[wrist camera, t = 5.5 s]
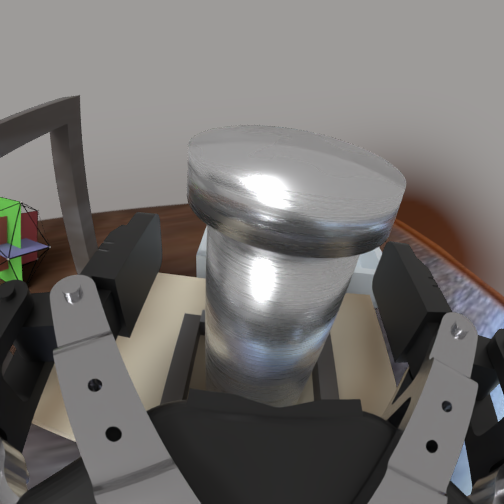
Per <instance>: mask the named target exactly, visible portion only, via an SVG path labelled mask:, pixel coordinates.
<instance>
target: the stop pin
mask: <svg viewBox="0 0 504 504" xmlns="http://www.w3.org/2000/svg"><path fill="white" fill-rule="evenodd" d="M187 175H188V176H187V199H188V203H189V205H190V207H191V209H192V210H193V212H194V213H195V214H196V215H197V216H198V217H199V218H200V219H201V220H202V221H203V222H205V223H206V224H207V245H206V289H205V373H206V391H213V392H221V393H229V394H235V395H238V396H241V397H244V398H247V399H250V400H253V401H256V402H260V403H263V404H266V405H270V406H273V407H287V406H292V405H296V403H297V401H298V399H299V397H300V395H301V393H302V391H303V389H304V387H305V385H306V383H307V381H308V379H309V377H310V375H311V372H312V370H313V368H314V366H315V364H316V362H317V360H318V357H319V355H320V353H321V351H322V349H323V346H324V344H325V342H326V339H327V337H328V335H329V333H330V330H331V328H332V326H333V323H334V321H335V318H336V316H337V314H338V311H339V309H340V306H341V304H342V301H343V299H344V296H345V294H346V291H347V288H348V286H349V283H350V281H351V278H352V275H353V273H354V270H355V267H356V265H357V262H358V259H359V256H360V254H364V253H367V252H369V251H372V250H374V249H376V248H378V247H379V246H381V245H382V244H383V243H384V242H385V241H386V240H387V238H388V236H389V234H390V231H391V229H392V226H393V223H394V220H395V217H396V214H397V212H398V209H399V206H400V202H401V200H402V197H403V194H404V190H405V187H406V180H405V178H404V176H403V175H402V173H401V172H400V171H399V170H398V169H397V168H396V167H395V166H393V165H392V164H391V163H389V162H388V161H386V160H385V159H383V158H381V157H380V156H378V155H376V154H374V153H372V152H370V151H368V150H366V149H364V148H361V147H359V146H356V145H354V144H351V143H348V142H345V141H342V140H339V139H336V138H333V137H329V136H325V135H322V134H318V133H313V132H308V131H304V130H298V129H292V128H284V127H275V126H260V125H259V126H258V125H241V126H227V127H220V128H214V129H210V130H207V131H204V132H201V133H199V134H197V135H195V136H194V137H193V138H191V140H190V141H189V145H188V172H187Z"/></svg>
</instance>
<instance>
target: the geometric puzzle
mask: <svg viewBox="0 0 504 504" xmlns="http://www.w3.org/2000/svg"><path fill="white" fill-rule="evenodd" d="M21 204H22V201H21V202H19V201H15V200H11V199H7V198H3V197H0V279H2V280H4V281H5V282H7V281H10V280H22V266H24V265H26V264H29V263H31V262H33V261H36V262H37V260H38V259H39V258H40V257H41V256H42V255H43V254H44V253H45V252H46V251H47V250H49V248H51V246H50V245H49V244H48V243H49V242H48V243H47V244H48V245H49V246H46V245H43V244H41V243H38V242H37V229H38V228H37V223H38V211H39V210H36V211H33V212H27V213H21ZM22 206H23V207H24V208H25V206H24V205H23V204H22ZM28 208H29V207H28ZM31 208H32V207H31ZM25 210H26V209H25ZM34 210H35V209H34ZM26 211H27V210H26ZM41 223H42V222H41ZM42 226H43V225H42ZM43 229H44V228H43ZM38 230H39V229H38ZM39 232H40V231H39ZM44 232H45V231H44ZM40 234H41V232H40ZM41 235H42V234H41ZM42 237H43V235H42ZM43 238H44V237H43ZM44 239H45V238H44ZM47 240H48V239H47ZM45 241H46V240H45ZM46 242H47V241H46ZM47 248H48V249H47ZM44 249H47V250H46V251H45V252H44V253H43V254H42V255H41V256H40V257H39V258H38V257H37V251H40V250H44ZM46 253H47V252H46ZM45 255H46V254H45ZM45 255H44V256H45ZM43 258H44V257H43ZM41 261H42V260H41ZM27 262H28V263H27ZM36 262H35V264H36ZM24 263H26V264H24ZM40 263H41V262H40ZM22 264H24V265H22ZM34 266H35V265H34ZM38 266H39V265H38ZM33 268H34V267H33ZM37 268H38V267H37ZM32 271H33V269H32ZM32 271H31V273H32ZM35 271H36V270H35ZM34 273H35V272H34ZM30 275H31V274H30ZM32 276H33V275H32ZM29 278H30V276H29ZM29 278H28V280H29ZM31 278H32V277H31ZM30 280H31V279H30ZM22 281H23V280H22ZM27 282H28V281H27ZM28 283H29V282H28ZM26 285H28V284H27V283H26Z"/></svg>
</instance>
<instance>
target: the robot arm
mask: <svg viewBox="0 0 504 504" xmlns="http://www.w3.org/2000/svg"><path fill="white" fill-rule="evenodd" d="M161 262H162V243H161V230H160V218H159V215H158V214H152V213H140V212H137V213H136V214H135V215H134V216H133V218H132V219H131V220H130V222H129V223H128V224H127V225H121V226H119V227H118V228H116V229H115V230H113V231H112V232H110V234H109V235H108V236H107V238H106V239H105V240H104V243H102V244H101V245H100V247H99V248H98V250H97V251H96V252H95V253H94V255H93V256H92V258H91V259H90V260H89V262H88V263H87V264H86V266H85V267H84V269H83V270H82V271H81V273H80V274H79V275H72V276H68V277H66V278H64V279H62V280H60V281H59V282H57V283H56V284H55V285H54V287H53V288H52V290H51V292H46V293H33V294H30V291H29V289H28V287H27V285H26V283H25V282H24V281H22V280H10V281H7V282H5V283H3V284H1V285H0V504H504V417H503V418H502V419H501V420H500V421H499V422H498V420H497V416H496V413H495V409H494V406H493V403H492V400H491V396H490V392H491V391H492V390H493V389H494V388H495V387H496V386H497V385H498V384H499V383H500V386H501V388H502V391H503V394H504V329H499V330H498V331H497V332H496V333H495V335H494V336H493V337H492V339H489V338H486V337H483V336H479V335H478V334H477V330H476V328H475V326H474V325H473V324H472V322H471V321H470V320H469V319H467V318H466V317H464V316H463V315H461V314H458V313H454V312H452V310H451V309H450V307H449V305H448V303H447V301H446V299H445V297H444V295H443V294H442V292H441V290H440V288H438V285H437V283H436V281H435V280H434V279H433V276H432V274H431V272H430V271H429V269H428V268H427V267H426V266H425V265H424V264H423V263H422V262H421V261H420V260H419V259H417V257H416V256H415V254H414V252H413V251H412V249H411V247H410V246H409V245H408V244H405V243H398V242H391V241H389V242H388V243H387V244H386V245H385V247H384V250H383V253H382V255H381V258H380V261H379V263H378V266H377V268H376V271H375V273H374V276H373V280H372V291H373V294H374V297H375V300H376V303H377V306H378V309H379V312H380V315H381V318H382V321H383V324H384V328H385V331H386V334H387V337H388V340H389V344H390V347H391V351H392V354H393V357H394V361H395V363H400V362H408V364H409V367H408V368H407V370H406V371H405V373H404V375H403V377H402V379H401V381H400V383H399V385H398V387H397V389H396V391H395V393H394V395H393V397H392V398H391V400H390V402H389V404H388V406H387V408H386V410H385V411H384V413H383V414H382V416H381V417H379V416H377V415H374V414H372V413H369V412H365V411H362V406H361V399H321V400H316V401H312V402H307V403H302V404H297V405H292V406H287V407H273V406H270V405H266V404H263V403H260V402H256V401H253V400H250V399H247V398H244V397H241V396H238V395H235V394H229V393H221V392H213V391H206V390H199V389H192V388H190V389H189V394H188V399H187V400H178V401H172V402H168V403H164V404H161V405H158V406H156V407H153V408H151V409H149V410H147V411H146V410H145V408H144V406H143V404H142V402H141V400H140V397H139V395H138V393H137V391H136V389H135V387H134V384H133V382H132V380H131V378H130V375H129V373H128V371H127V369H126V366H125V364H124V361H123V359H122V357H121V354H120V352H119V349H118V347H117V344H116V339H117V337H118V336H123V337H128V338H130V336H131V334H132V331H133V329H134V327H135V324H136V322H137V319H138V317H139V315H140V312H141V310H142V308H143V305H144V303H145V301H146V298H147V296H148V294H149V292H150V289H151V287H152V285H153V283H154V280H155V278H156V276H157V274H158V272H159V269H160V267H161ZM12 344H14V346H15V348H16V351H15V353H14V355H13V357H12V359H11V361H10V363H9V365H8V367H7V369H6V371H5V373H4V376H3V375H2V365H3V362H4V360H5V358H6V356H7V354H8V352H9V350H10V348H11V346H12ZM54 363H55V367H56V372H57V376H58V381H59V385H60V389H61V393H62V397H63V401H64V404H65V408H66V411H67V415H68V418H69V422H70V425H71V428H72V431H73V434H74V437H75V440H76V443H77V446H78V449H79V451H80V454H81V457H80V458H78V459H77V460H75V461H74V462H72V463H71V464H69V465H68V466H66V467H65V468H63V469H62V470H60V471H58V472H57V473H55V474H54V475H52V476H51V477H49V478H47V479H46V480H44V481H43V482H41V483H39V484H38V485H36V486H35V487H33V488H31V489H30V490H28V489H27V485H26V484H27V483H28V482H29V473H28V471H27V467H26V463H25V460H24V458H23V456H22V451H23V448H24V445H25V441H26V438H27V435H28V432H29V429H30V426H31V423H32V420H33V417H34V414H35V411H36V409H37V406H38V403H39V401H40V398H41V395H42V393H43V390H44V388H45V385H46V383H47V380H48V378H49V375H50V373H51V370H52V368H53V366H54ZM464 440H465V445H466V450H467V456H468V462H469V467H470V474H471V481H472V492H471V494H470V495H468V496H466V495H465V494H464V493H463V492H462V491H461V490H460V489H459V488H457V487H456V486H455V485H454V484H453V483H452V482H451V481H450V479H451V476H452V474H453V471H454V469H455V466H456V463H457V460H458V458H459V455H460V452H461V449H462V446H463V443H464Z"/></svg>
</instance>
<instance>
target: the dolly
mask: <svg viewBox="0 0 504 504" xmlns="http://www.w3.org/2000/svg"><path fill="white" fill-rule="evenodd" d="M48 132H50V139H51V147H52V156H53V163H54V170H55V177H56V183H57V189H58V194H59V200H60V205H61V209H62V215H63V219H64V224H65V228H66V233H67V237H68V241H69V245H70V249H71V253H72V256H73V260H74V264H75V267H76V270H77V274H78V275H79V274H80V273H81V271H82V270H83V269H84V267H85V266H86V264H87V263H88V262H89V260H90V259H91V258H92V256H93V255H94V253H95V252H96V251H97V250H98V247H97V242H96V237H95V232H94V226H93V221H92V215H91V209H90V203H89V196H88V189H87V182H86V174H85V166H84V157H83V145H82V134H81V117H80V95H79V96H71V97H63V98H59V99H56V100H53V101H50V102H47V103H44V104H41V105H38V106H35V107H32V108H29V109H27V110H24V111H22V112H19V113H16V114H14V115H11V116H9V117H7V118H4V119H2V120H0V158H1V157H3V156H4V155H6V154H8V153H9V152H11V151H13V150H15V149H17V148H18V147H20V146H22V145H24V144H26V143H28V142H30V141H32V140H34V139H36V138H38V137H40V136H42V135H44V134H46V133H48ZM205 289H206V279H205V278H197V277H189V276H181V275H173V274H165V273H158V274H157V276H156V278H155V280H154V283H153V285H152V287H151V289H150V292H149V294H148V296H147V298H146V301H145V303H144V305H143V308H142V310H141V312H140V315H139V317H138V319H137V322H136V324H135V327H134V329H133V331H132V334H131V336H130V338H128V337H123V336H118V337H117V339H116V344H117V347H118V349H119V352H120V354H121V357H122V359H123V361H124V364H125V366H126V369H127V371H128V373H129V375H130V378H131V380H132V382H133V384H134V387H135V389H136V391H137V393H138V395H139V397H140V400H141V402H142V404H143V406H144V408H145V410H146V411H147V410H149V409H151V408H153V407H156V406H158V405H161V404H164V403H168V402H172V401H178V400H187V399H188V394H189V389H190V388H192V389H199V390H206V373H205ZM12 357H13V355H12V354H11V352H10V351H9V352H8V354H7V356H6V358H5V360H4V362H3V365H2V375H3V376H4V373H5V371H6V369H7V367H8V365H9V363H10V361H11V359H12ZM396 389H397V386H396V382H395V378H394V375H393V371H392V367H391V363H390V360H389V356H388V352H387V349H386V345H385V342H384V339H383V335H382V332H381V329H380V325H379V322H378V319H377V316H376V313H375V309H374V306H373V303H372V300H371V297H370V295H365V294H353V293H346V294H345V296H344V299H343V301H342V304H341V306H340V309H339V311H338V314H337V316H336V318H335V321H334V323H333V326H332V328H331V330H330V333H329V335H328V337H327V339H326V342H325V344H324V346H323V349H322V351H321V353H320V355H319V357H318V360H317V362H316V364H315V366H314V368H313V370H312V372H311V375H310V377H309V379H308V381H307V383H306V385H305V387H304V389H303V391H302V393H301V395H300V397H299V399H298V401H297V403H296V405H297V404H302V403H307V402H312V401H316V400H321V399H361V406H362V411H365V412H369V413H372V414H374V415H377V416H379V417H381V416H382V414H383V413H384V411H385V410H386V408H387V406H388V404H389V402H390V400H391V398H392V397H393V395H394V393H395V391H396ZM32 423H33V424H35V425H37V426H39V427H41V428H44V429H46V430H48V431H50V432H53V433H55V434H58V435H60V436H62V437H65V438H67V439H70V440H73V441H75V442H76V440H75V437H74V434H73V431H72V428H71V425H70V422H69V418H68V415H67V411H66V408H65V404H64V401H63V397H62V393H61V389H60V385H59V381H58V376H57V372H56V367H55V363H54V366H53V368H52V370H51V373H50V375H49V378H48V380H47V383H46V385H45V388H44V390H43V393H42V395H41V398H40V401H39V403H38V406H37V409H36V411H35V414H34V417H33V420H32Z"/></svg>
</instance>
